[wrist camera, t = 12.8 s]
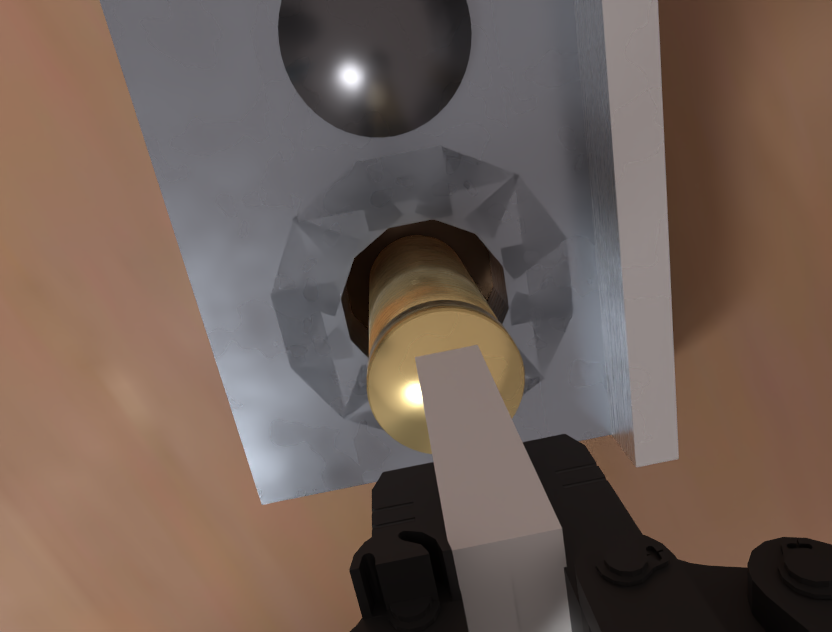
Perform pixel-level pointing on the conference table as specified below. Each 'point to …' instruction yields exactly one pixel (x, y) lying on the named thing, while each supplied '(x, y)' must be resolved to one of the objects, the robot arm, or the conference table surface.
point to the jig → (412, 203)
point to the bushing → (428, 333)
